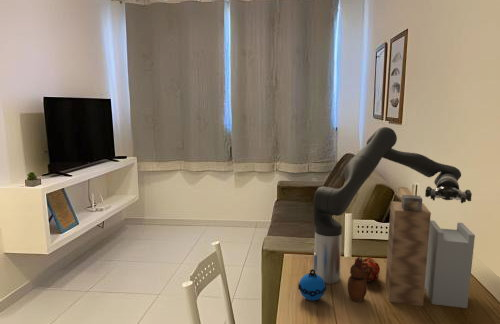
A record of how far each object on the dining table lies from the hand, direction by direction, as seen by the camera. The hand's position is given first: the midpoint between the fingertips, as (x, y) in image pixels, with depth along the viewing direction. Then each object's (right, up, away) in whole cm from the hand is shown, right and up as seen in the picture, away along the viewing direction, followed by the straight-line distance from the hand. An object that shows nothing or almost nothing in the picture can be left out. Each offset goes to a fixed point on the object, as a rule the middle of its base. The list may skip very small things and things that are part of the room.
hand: (447, 198), depth 125 cm
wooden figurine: (-33, -32, -5) cm, 46 cm away
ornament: (-47, -32, -6) cm, 57 cm away
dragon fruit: (-25, -30, +8) cm, 40 cm away
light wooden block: (-15, -1, -3) cm, 16 cm away
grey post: (-3, -31, -4) cm, 32 cm away
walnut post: (-17, -31, -3) cm, 36 cm away
